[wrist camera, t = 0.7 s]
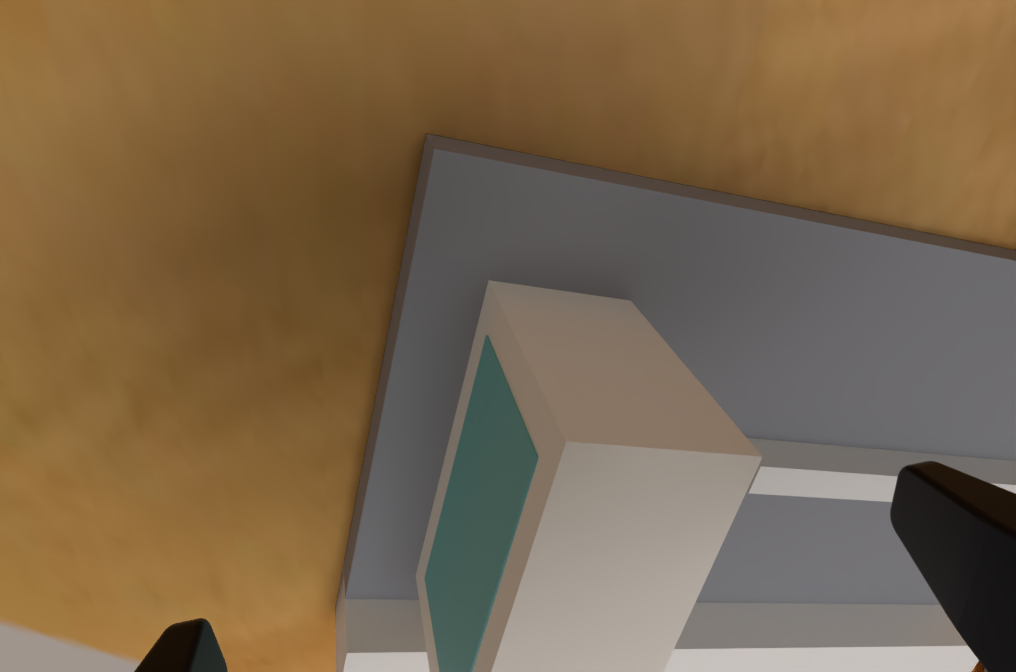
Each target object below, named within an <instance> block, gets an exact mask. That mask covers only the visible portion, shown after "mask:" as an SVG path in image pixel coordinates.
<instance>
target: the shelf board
mask: <svg viewBox="0 0 1016 672" xmlns="http://www.w3.org/2000/svg"><path fill="white" fill-rule="evenodd" d="M488 280H491V281H498V282H505V283H512V284H519V285H526V286H533V287H540V288H547V289H554V290H561V291H568V292H575V293H582V294H589V295H596V296H603V297H610V298H617V299H624V300H631V301H632V303H633V304H634V305H635V306H636V307H637V309H638V310H639V311H640V312H641V313H642V314H643V316H644V317H645V318H646V319H647V320H648V322H649V323H650V324H651V325H652V326H653V327H654V329H655V330H656V331H657V332H658V333H659V335H660V336H661V337H662V338H663V339H664V340H665V342H666V343H667V344H668V345H669V346H670V348H671V349H672V350H673V351H674V352H675V354H676V355H677V356H678V357H679V358H680V359H681V361H682V362H683V363H684V364H685V365H686V367H687V368H688V369H689V370H690V371H691V372H692V374H693V375H694V376H695V377H696V378H697V380H698V381H699V382H700V383H701V384H702V385H703V387H704V388H705V389H706V390H707V391H708V393H709V394H710V395H711V396H712V397H713V399H714V400H715V401H716V402H717V403H718V404H719V406H720V407H721V408H722V409H723V410H724V412H725V413H726V414H727V415H728V416H729V417H730V419H731V420H732V421H733V422H734V423H735V425H736V426H737V427H738V428H739V429H740V430H741V432H742V433H743V434H744V435H745V436H746V438H747V439H748V440H749V441H750V442H751V443H752V445H753V446H754V447H755V448H756V449H757V451H758V452H759V453H760V454H761V455H762V459H761V462H760V464H759V466H758V468H757V470H756V472H755V475H754V477H753V479H752V481H751V483H750V485H749V487H748V490H747V492H746V494H745V496H744V498H743V500H742V503H741V505H740V507H739V509H738V511H737V513H736V516H735V518H734V520H733V522H732V524H731V526H730V529H729V531H728V533H727V535H726V537H725V539H724V542H723V544H722V546H721V548H720V550H719V552H718V555H717V557H716V559H715V561H714V563H713V565H712V568H711V570H710V572H709V574H708V576H707V578H706V581H705V583H704V585H703V587H702V589H701V591H700V594H699V596H698V598H697V600H696V602H695V604H694V607H693V609H692V611H691V613H690V615H689V617H688V619H687V622H686V624H685V626H684V628H683V630H682V632H681V635H680V637H679V639H678V641H677V643H676V645H675V648H674V650H673V652H672V654H671V656H670V658H669V661H668V663H667V665H666V667H665V669H664V671H663V672H971V671H972V670H973V668H974V667H975V666H976V664H977V663H978V661H979V660H978V659H977V657H976V656H975V655H974V653H973V652H972V651H971V649H970V648H969V647H968V645H967V644H966V643H965V641H964V640H963V638H962V637H961V636H960V634H959V633H958V631H957V630H956V628H955V627H954V625H953V624H952V622H951V621H950V619H949V618H948V616H947V615H946V613H945V612H944V610H943V608H942V607H941V605H940V603H939V602H938V600H937V599H936V597H935V595H934V594H933V592H932V591H931V589H930V587H929V586H928V584H927V582H926V581H925V579H924V578H923V576H922V574H921V573H920V571H919V569H918V568H917V566H916V565H915V563H914V561H913V560H912V558H911V556H910V555H909V553H908V552H907V550H906V548H905V547H904V545H903V543H902V542H901V540H900V539H899V537H898V535H897V534H896V532H895V530H894V528H893V526H892V523H891V519H890V508H891V504H892V499H893V495H894V490H895V486H896V482H897V477H898V474H899V471H900V470H901V469H902V468H903V467H904V466H906V465H911V464H915V463H920V462H925V461H936V462H938V463H941V464H944V465H946V466H949V467H951V468H954V469H956V470H958V471H961V472H963V473H966V474H968V475H971V476H973V477H976V478H978V479H981V480H983V481H986V482H988V483H991V484H993V485H996V486H998V487H1001V488H1003V489H1006V490H1008V491H1011V492H1013V493H1015V494H1016V250H1011V249H1006V248H1001V247H996V246H990V245H985V244H980V243H975V242H970V241H965V240H960V239H955V238H950V237H945V236H940V235H935V234H930V233H925V232H920V231H915V230H910V229H905V228H900V227H895V226H890V225H885V224H879V223H874V222H869V221H864V220H859V219H854V218H849V217H844V216H839V215H834V214H829V213H824V212H819V211H814V210H809V209H804V208H799V207H794V206H789V205H784V204H779V203H774V202H769V201H763V200H758V199H753V198H748V197H743V196H738V195H733V194H728V193H723V192H718V191H713V190H708V189H703V188H698V187H693V186H688V185H683V184H678V183H673V182H668V181H663V180H658V179H652V178H647V177H642V176H637V175H632V174H627V173H622V172H617V171H612V170H607V169H602V168H597V167H592V166H587V165H582V164H577V163H572V162H567V161H562V160H557V159H552V158H547V157H541V156H536V155H531V154H526V153H521V152H516V151H511V150H506V149H501V148H496V147H491V146H486V145H481V144H476V143H471V142H466V141H461V140H456V139H451V138H446V137H441V136H436V135H431V134H426V138H425V144H424V149H423V154H422V159H421V164H420V170H419V175H418V180H417V185H416V190H415V196H414V201H413V206H412V211H411V217H410V222H409V227H408V232H407V237H406V243H405V248H404V253H403V258H402V263H401V269H400V274H399V279H398V284H397V289H396V295H395V300H394V305H393V310H392V315H391V321H390V326H389V331H388V336H387V341H386V347H385V352H384V357H383V362H382V368H381V373H380V378H379V383H378V388H377V394H376V399H375V404H374V409H373V414H372V420H371V425H370V430H369V435H368V440H367V446H366V451H365V456H364V461H363V466H362V472H361V477H360V482H359V487H358V492H357V498H356V503H355V508H354V513H353V519H352V524H351V529H350V534H349V539H348V545H347V550H346V555H345V560H344V565H343V571H342V576H341V581H340V586H339V591H338V597H337V602H336V607H335V624H336V672H430V671H429V664H428V657H427V650H426V643H425V636H424V630H423V623H422V616H421V609H420V602H419V596H418V589H417V582H416V572H417V568H418V564H419V560H420V556H421V552H422V548H423V544H424V540H425V536H426V531H427V527H428V523H429V519H430V515H431V511H432V507H433V503H434V499H435V495H436V491H437V487H438V483H439V479H440V475H441V471H442V467H443V463H444V459H445V454H446V450H447V446H448V442H449V438H450V434H451V430H452V426H453V422H454V418H455V414H456V410H457V406H458V402H459V398H460V394H461V390H462V386H463V381H464V377H465V373H466V369H467V365H468V361H469V357H470V353H471V349H472V345H473V341H474V337H475V333H476V329H477V325H478V321H479V317H480V313H481V309H482V304H483V300H484V296H485V292H486V288H487V284H488Z"/></svg>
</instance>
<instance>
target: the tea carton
mask: <svg viewBox="0 0 1016 672" xmlns="http://www.w3.org/2000/svg"><path fill="white" fill-rule="evenodd" d="M761 459H762V455H761V454H760V453H759V452H758V451H757V449H756V448H755V447H754V446H753V445H752V443H751V442H750V441H749V440H748V439H747V438H746V436H745V435H744V434H743V433H742V432H741V430H740V429H739V428H738V427H737V426H736V425H735V423H734V422H733V421H732V420H731V419H730V417H729V416H728V415H727V414H726V413H725V412H724V410H723V409H722V408H721V407H720V406H719V404H718V403H717V402H716V401H715V400H714V399H713V397H712V396H711V395H710V394H709V393H708V391H707V390H706V389H705V388H704V387H703V385H702V384H701V383H700V382H699V381H698V380H697V378H696V377H695V376H694V375H693V374H692V372H691V371H690V370H689V369H688V368H687V367H686V365H685V364H684V363H683V362H682V361H681V359H680V358H679V357H678V356H677V355H676V354H675V352H674V351H673V350H672V349H671V348H670V346H669V345H668V344H667V343H666V342H665V340H664V339H663V338H662V337H661V336H660V335H659V333H658V332H657V331H656V330H655V329H654V327H653V326H652V325H651V324H650V323H649V322H648V320H647V319H646V318H645V317H644V316H643V314H642V313H641V312H640V311H639V310H638V309H637V307H636V306H635V305H634V304H633V303H632V301H631V300H624V299H617V298H610V297H603V296H596V295H589V294H582V293H575V292H568V291H561V290H554V289H547V288H540V287H533V286H526V285H519V284H512V283H505V282H498V281H491V280H488V284H487V288H486V292H485V296H484V300H483V304H482V309H481V313H480V317H479V321H478V325H477V329H476V333H475V337H474V341H473V345H472V349H471V353H470V357H469V361H468V365H467V369H466V373H465V377H464V381H463V386H462V390H461V394H460V398H459V402H458V406H457V410H456V414H455V418H454V422H453V426H452V430H451V434H450V438H449V442H448V446H447V450H446V454H445V459H444V463H443V467H442V471H441V475H440V479H439V483H438V487H437V491H436V495H435V499H434V503H433V507H432V511H431V515H430V519H429V523H428V527H427V531H426V536H425V540H424V544H423V548H422V552H421V556H420V560H419V564H418V568H417V572H416V582H417V589H418V596H419V602H420V609H421V616H422V623H423V630H424V636H425V643H426V650H427V657H428V664H429V671H430V672H663V671H664V669H665V667H666V665H667V663H668V661H669V658H670V656H671V654H672V652H673V650H674V648H675V645H676V643H677V641H678V639H679V637H680V635H681V632H682V630H683V628H684V626H685V624H686V622H687V619H688V617H689V615H690V613H691V611H692V609H693V607H694V604H695V602H696V600H697V598H698V596H699V594H700V591H701V589H702V587H703V585H704V583H705V581H706V578H707V576H708V574H709V572H710V570H711V568H712V565H713V563H714V561H715V559H716V557H717V555H718V552H719V550H720V548H721V546H722V544H723V542H724V539H725V537H726V535H727V533H728V531H729V529H730V526H731V524H732V522H733V520H734V518H735V516H736V513H737V511H738V509H739V507H740V505H741V503H742V500H743V498H744V496H745V494H746V492H747V490H748V487H749V485H750V483H751V481H752V479H753V477H754V475H755V472H756V470H757V468H758V466H759V464H760V462H761Z"/></svg>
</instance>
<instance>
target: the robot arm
mask: <svg viewBox="0 0 1016 672" xmlns="http://www.w3.org/2000/svg"><path fill="white" fill-rule="evenodd" d="M890 519H891V523H892V526H893V528H894V530H895V532H896V534H897V535H898V537H899V539H900V540H901V542H902V543H903V545H904V547H905V548H906V550H907V552H908V553H909V555H910V556H911V558H912V560H913V561H914V563H915V565H916V566H917V568H918V569H919V571H920V573H921V574H922V576H923V578H924V579H925V581H926V582H927V584H928V586H929V587H930V589H931V591H932V592H933V594H934V595H935V597H936V599H937V600H938V602H939V603H940V605H941V607H942V608H943V610H944V612H945V613H946V615H947V616H948V618H949V619H950V621H951V622H952V624H953V625H954V627H955V628H956V630H957V631H958V633H959V634H960V636H961V637H962V638H963V640H964V641H965V643H966V644H967V645H968V647H969V648H970V649H971V651H972V652H973V653H974V655H975V656H976V657H977V659H978V660H979V661H980V663H981V664H982V665H983V667H984V668H985V669H986V671H987V672H1016V494H1015V493H1013V492H1011V491H1008V490H1006V489H1003V488H1001V487H998V486H996V485H993V484H991V483H988V482H986V481H983V480H981V479H978V478H976V477H973V476H971V475H968V474H966V473H963V472H961V471H958V470H956V469H954V468H951V467H949V466H946V465H944V464H941V463H938V462H936V461H925V462H920V463H915V464H911V465H906V466H904V467H903V468H902V469H901V470H900V471H899V474H898V477H897V482H896V486H895V490H894V495H893V499H892V504H891V508H890ZM134 672H227V666H226V662H225V660H224V657H223V655H222V652H221V650H220V647H219V645H218V642H217V640H216V637H215V635H214V632H213V630H212V627H211V625H210V623H209V622H208V621H207V620H206V619H203V618H199V619H194V620H190V621H185V622H181V623H176V624H173V625H171V626H169V627H168V628H167V629H166V630H165V631H164V632H163V634H162V635H161V636H160V638H159V639H158V640H157V642H156V643H155V644H154V646H153V647H152V648H151V650H150V651H149V652H148V654H147V655H146V656H145V658H144V659H143V661H142V662H141V663H140V665H139V666H138V667H137V669H136V670H135V671H134Z"/></svg>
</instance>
